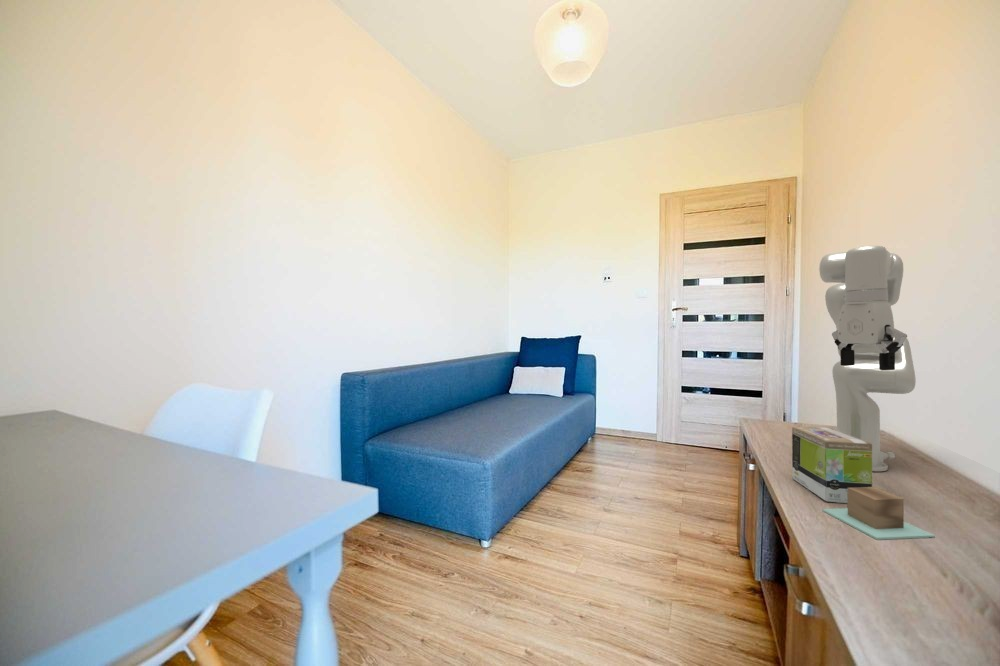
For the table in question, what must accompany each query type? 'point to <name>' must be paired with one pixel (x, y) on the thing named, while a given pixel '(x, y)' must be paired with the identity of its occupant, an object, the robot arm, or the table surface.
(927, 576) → the table surface
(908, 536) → the teal pad
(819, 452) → the tea box
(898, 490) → the table surface
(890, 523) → the walnut cube
